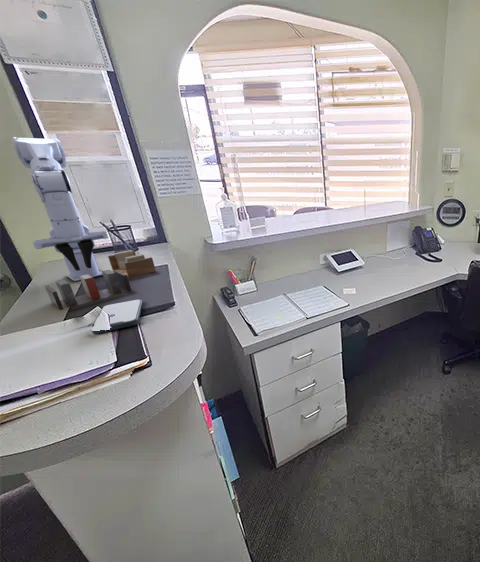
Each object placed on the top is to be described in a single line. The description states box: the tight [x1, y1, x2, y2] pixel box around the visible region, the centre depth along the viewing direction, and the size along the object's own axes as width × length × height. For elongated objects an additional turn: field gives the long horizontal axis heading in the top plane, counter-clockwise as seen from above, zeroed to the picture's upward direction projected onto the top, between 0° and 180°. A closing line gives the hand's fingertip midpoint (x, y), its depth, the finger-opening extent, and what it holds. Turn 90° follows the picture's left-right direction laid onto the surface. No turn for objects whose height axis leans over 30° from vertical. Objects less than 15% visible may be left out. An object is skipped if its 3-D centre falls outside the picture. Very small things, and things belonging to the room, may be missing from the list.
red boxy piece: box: [80, 274, 100, 299], centre depth 87 cm, size 2×5×6 cm, turn 55°
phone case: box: [91, 298, 143, 334], centre depth 78 cm, size 9×2×16 cm
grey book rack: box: [44, 269, 133, 311], centre depth 88 cm, size 16×8×7 cm, turn 145°
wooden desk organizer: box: [107, 249, 157, 279], centre depth 110 cm, size 16×8×7 cm, turn 55°
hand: (83, 268), depth 86 cm, fingers closed
